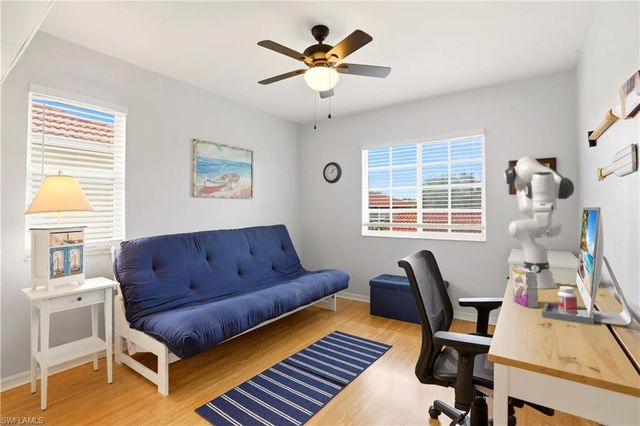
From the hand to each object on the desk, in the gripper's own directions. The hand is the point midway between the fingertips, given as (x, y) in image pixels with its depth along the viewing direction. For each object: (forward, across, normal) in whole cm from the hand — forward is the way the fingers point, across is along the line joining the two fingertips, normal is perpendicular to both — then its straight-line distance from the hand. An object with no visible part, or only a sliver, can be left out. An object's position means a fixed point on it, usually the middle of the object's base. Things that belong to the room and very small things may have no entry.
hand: (545, 236), depth 139 cm
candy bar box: (+32, +3, -9) cm, 34 cm away
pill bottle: (+31, +11, +7) cm, 34 cm away
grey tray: (+32, +11, +7) cm, 34 cm away
